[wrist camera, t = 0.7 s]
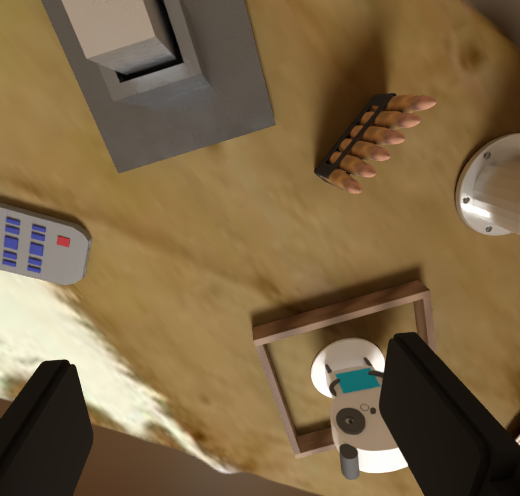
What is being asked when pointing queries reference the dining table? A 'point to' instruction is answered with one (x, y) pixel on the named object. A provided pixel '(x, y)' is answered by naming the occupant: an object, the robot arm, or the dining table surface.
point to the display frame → (330, 316)
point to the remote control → (42, 246)
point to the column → (125, 34)
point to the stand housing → (176, 85)
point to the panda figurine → (356, 406)
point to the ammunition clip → (370, 138)
